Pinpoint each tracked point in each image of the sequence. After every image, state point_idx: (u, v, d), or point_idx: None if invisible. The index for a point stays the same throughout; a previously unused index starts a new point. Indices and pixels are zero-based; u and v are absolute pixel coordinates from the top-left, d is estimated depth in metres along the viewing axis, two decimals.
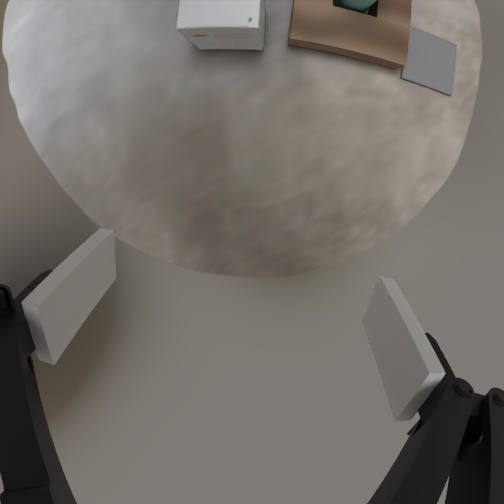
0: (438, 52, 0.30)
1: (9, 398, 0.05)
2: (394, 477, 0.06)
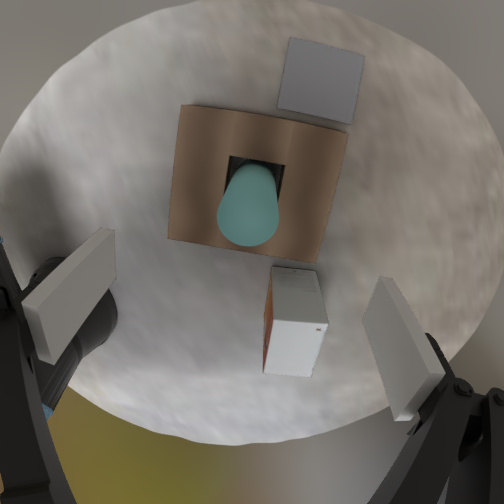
0: (308, 66, 0.28)
1: (9, 398, 0.05)
2: (394, 477, 0.06)
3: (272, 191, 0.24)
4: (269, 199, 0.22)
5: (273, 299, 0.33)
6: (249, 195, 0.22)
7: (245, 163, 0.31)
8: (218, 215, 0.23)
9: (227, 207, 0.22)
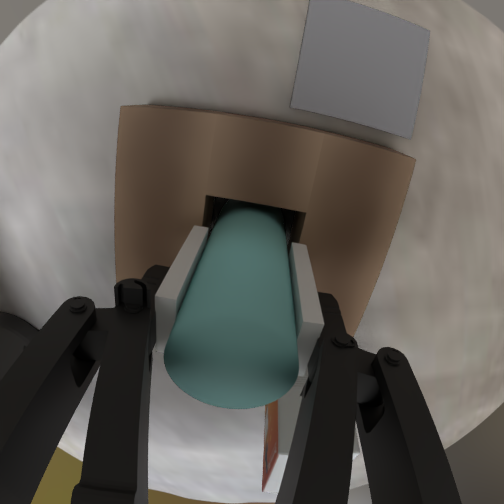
0: (342, 39, 0.15)
1: (120, 396, 0.07)
2: (297, 448, 0.07)
3: (285, 296, 0.11)
4: (279, 340, 0.09)
5: (279, 413, 0.20)
6: (232, 331, 0.09)
7: (235, 205, 0.18)
8: (167, 361, 0.10)
9: (184, 350, 0.10)
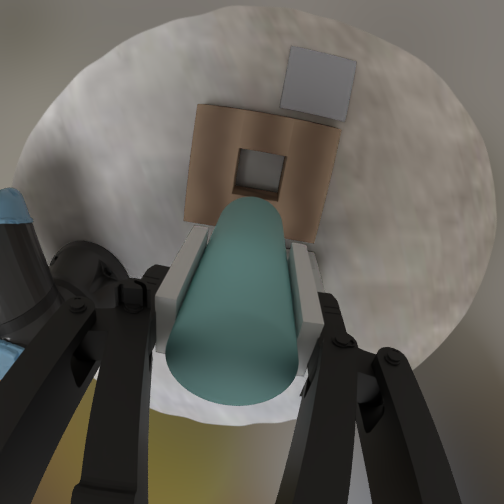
0: (306, 71, 0.33)
1: (120, 396, 0.07)
2: (297, 448, 0.07)
3: (284, 294, 0.12)
4: (279, 334, 0.09)
5: None
6: (233, 325, 0.09)
7: (234, 209, 0.19)
8: (168, 356, 0.10)
9: (186, 344, 0.10)
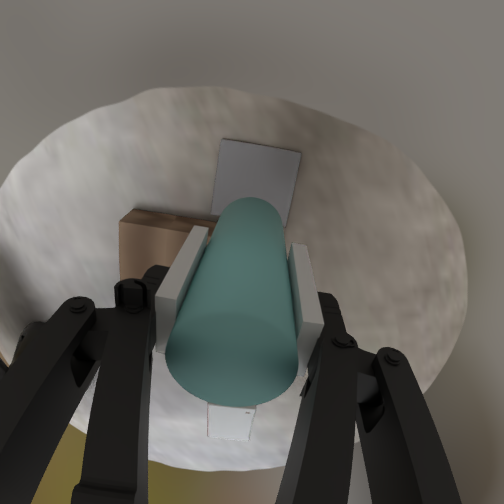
0: (240, 170, 0.31)
1: (120, 396, 0.07)
2: (297, 448, 0.07)
3: (284, 295, 0.12)
4: (279, 335, 0.09)
5: None
6: (233, 326, 0.09)
7: (234, 210, 0.19)
8: (168, 357, 0.10)
9: (186, 346, 0.10)
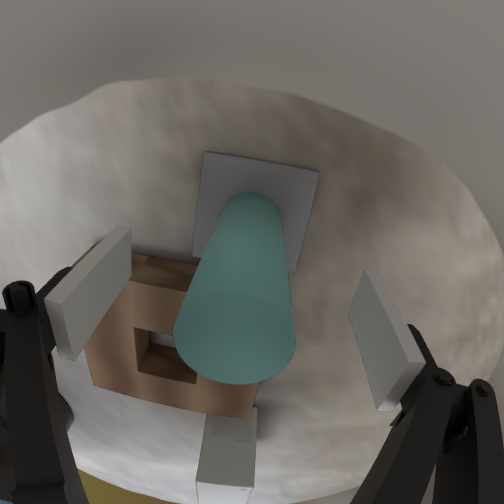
0: (231, 197, 0.22)
1: (27, 395, 0.06)
2: (378, 470, 0.07)
3: (282, 280, 0.13)
4: (277, 314, 0.10)
5: (201, 454, 0.27)
6: (235, 306, 0.10)
7: (235, 204, 0.20)
8: (176, 336, 0.11)
9: (192, 325, 0.11)
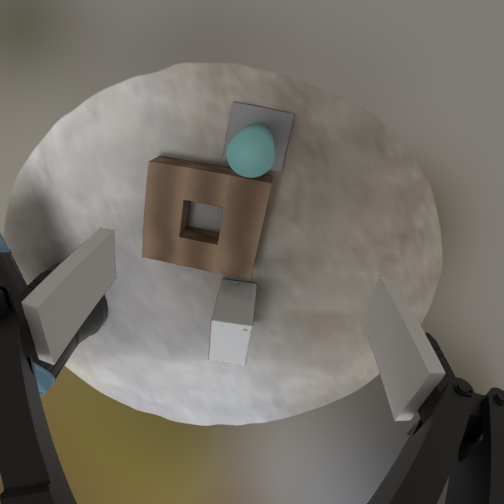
0: (246, 126, 0.39)
1: (9, 398, 0.05)
2: (394, 477, 0.06)
3: (270, 138, 0.30)
4: (267, 140, 0.28)
5: (215, 305, 0.44)
6: (252, 136, 0.28)
7: (249, 125, 0.37)
8: (227, 152, 0.28)
9: (235, 145, 0.28)
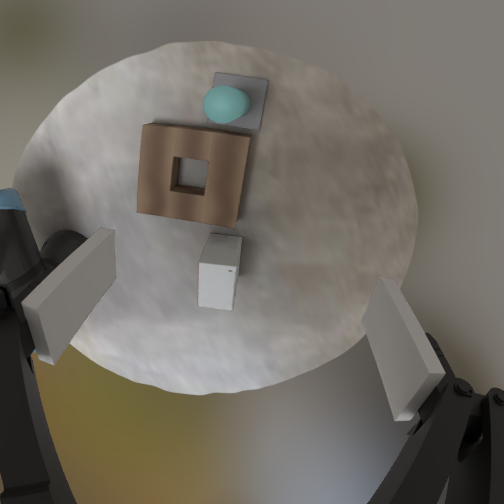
0: None
1: (9, 398, 0.05)
2: (394, 477, 0.06)
3: (240, 92, 0.34)
4: (236, 92, 0.32)
5: (203, 251, 0.48)
6: (223, 90, 0.32)
7: None
8: (204, 103, 0.33)
9: (209, 98, 0.32)
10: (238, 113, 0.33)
